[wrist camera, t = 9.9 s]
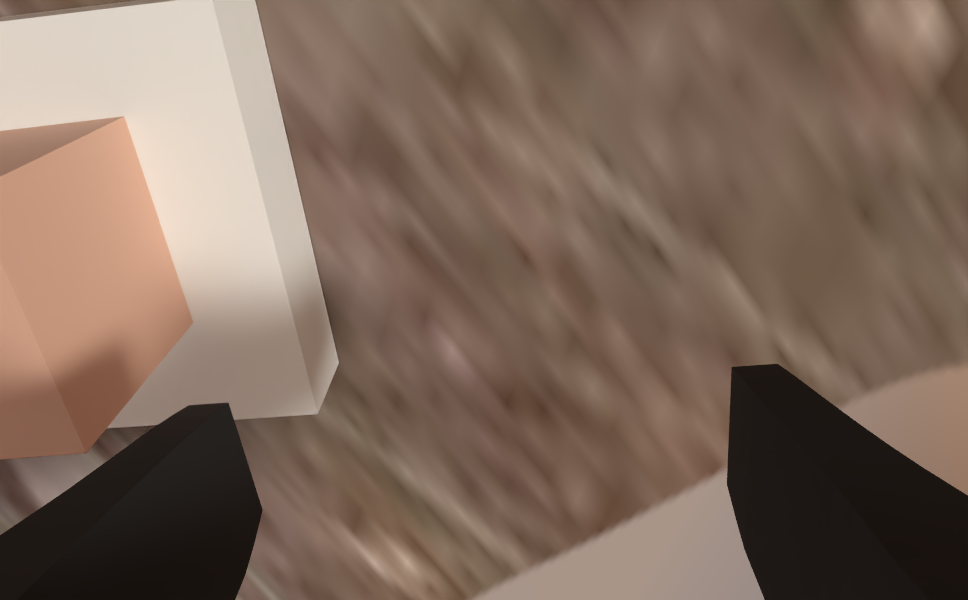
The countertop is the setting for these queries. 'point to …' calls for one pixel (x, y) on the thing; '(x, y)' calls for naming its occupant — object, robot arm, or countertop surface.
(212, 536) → the robot arm
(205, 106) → the base pad
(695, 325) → the countertop surface
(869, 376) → the countertop surface
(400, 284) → the countertop surface
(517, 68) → the countertop surface
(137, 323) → the terracotta cube
